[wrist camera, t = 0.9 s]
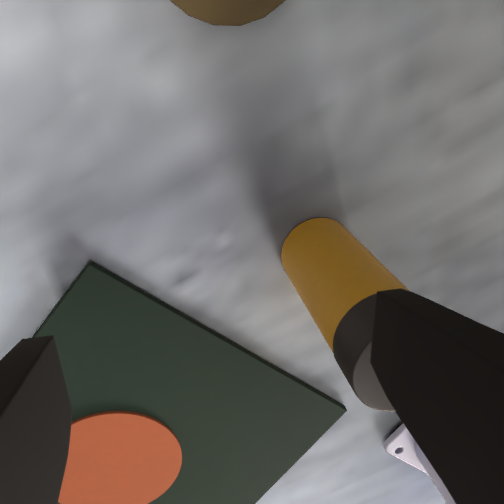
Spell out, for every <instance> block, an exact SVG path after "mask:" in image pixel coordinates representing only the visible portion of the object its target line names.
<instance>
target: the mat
mask: <svg viewBox="0 0 504 504" xmlns="http://www.w3.org/2000/svg"><path fill="white" fill-rule="evenodd" d="M50 335H54V339H55V343H56V347H57V351H58V355H59V359H60V363H61V367H62V371H63V375H64V379H65V383H66V387H67V391H68V395H69V399H70V402H71V406H72V422H71V434H70V443H69V453H68V459H67V463H66V468H65V473H64V477H63V482H62V486H61V491H60V495H59V499H58V504H255V503H256V502H257V501H258V500H259V499H260V498H261V497H262V496H263V495H264V494H265V493H266V492H267V491H268V490H269V489H270V488H271V487H272V486H273V485H274V484H275V483H276V482H277V481H278V480H279V479H280V478H281V477H282V476H283V475H284V474H285V473H286V472H287V471H288V470H289V469H290V468H291V467H292V466H293V465H294V464H295V463H296V462H297V461H298V460H299V459H300V458H301V457H302V456H303V455H304V454H305V453H306V452H307V451H308V450H309V449H310V448H311V446H312V445H313V444H314V443H315V442H316V441H317V440H318V439H319V438H320V437H321V436H322V435H323V434H324V433H325V432H326V431H327V430H328V429H329V428H330V427H331V426H332V425H333V424H334V423H335V422H336V421H337V420H338V419H339V418H340V417H341V416H342V415H343V414H344V413H345V412H346V411H347V410H346V408H345V406H344V405H342V404H340V403H339V402H337V401H335V400H333V399H332V398H330V397H328V396H326V395H325V394H323V393H321V392H319V391H318V390H316V389H314V388H312V387H311V386H309V385H307V384H305V383H304V382H302V381H300V380H298V379H297V378H295V377H293V376H291V375H290V374H288V373H286V372H284V371H283V370H281V369H279V368H277V367H276V366H274V365H272V364H270V363H269V362H267V361H265V360H263V359H262V358H260V357H258V356H256V355H255V354H253V353H251V352H249V351H248V350H246V349H244V348H242V347H241V346H239V345H237V344H235V343H234V342H232V341H230V340H228V339H227V338H225V337H223V336H221V335H220V334H218V333H216V332H214V331H213V330H211V329H209V328H207V327H206V326H204V325H202V324H200V323H199V322H197V321H195V320H193V319H192V318H190V317H188V316H186V315H185V314H183V313H181V312H179V311H178V310H176V309H174V308H172V307H171V306H169V305H167V304H165V303H164V302H162V301H160V300H158V299H157V298H155V297H153V296H151V295H150V294H148V293H146V292H144V291H143V290H141V289H139V288H137V287H136V286H134V285H132V284H130V283H129V282H127V281H125V280H123V279H122V278H120V277H118V276H116V275H115V274H113V273H111V272H109V271H108V270H106V269H104V268H103V267H101V266H99V265H97V264H96V263H94V262H92V261H89V263H88V264H87V265H86V267H85V268H84V269H83V271H82V272H81V273H80V275H79V276H78V277H77V279H76V280H75V281H74V283H73V284H72V285H71V287H70V288H69V289H68V291H67V292H66V293H65V295H64V296H63V297H62V299H61V300H60V301H59V303H58V304H57V305H56V307H55V308H54V309H53V311H52V312H51V313H50V315H49V316H48V317H47V319H46V320H45V321H44V323H43V324H42V325H41V327H40V328H39V329H38V331H37V332H36V333H35V335H34V336H33V337H32V338H36V337H43V336H50Z"/></svg>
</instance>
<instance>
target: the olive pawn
mask: <svg viewBox="0 0 504 504" xmlns="http://www.w3.org/2000/svg"><path fill="white" fill-rule="evenodd" d="M170 1H172V2H173V3H174V4H175V5H177V6H178V7H179V8H180V9H181V10H183V11H184V12H185V13H186V14H188V15H189V16H192V17H194V18H197V19H199V20H202V21H205V22H207V23H210V24H212V25H230V26H241V25H243V24H246V23H249V22H252V21H255V20H258V19H261V18H264V17H265V16H266V15H268V14H269V13H270V12H272V11H273V10H274V9H275V8H277V7H278V6H279V5H280V4H282V3H283V2H284V1H285V0H170Z"/></svg>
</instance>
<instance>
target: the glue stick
mask: <svg viewBox="0 0 504 504" xmlns="http://www.w3.org/2000/svg"><path fill="white" fill-rule="evenodd" d="M281 261H282V265H283V268H284V270H285V272H286V273H287V275H288V277H289V279H290V280H291V282H292V284H293V285H294V287H295V289H296V290H297V292H298V294H299V296H300V297H301V299H302V301H303V302H304V304H305V306H306V307H307V309H308V311H309V313H310V314H311V316H312V318H313V319H314V321H315V323H316V324H317V326H318V328H319V330H320V331H321V333H322V335H323V336H324V338H325V340H326V342H327V343H328V345H329V347H330V348H331V350H332V352H333V353H334V357H335V359H336V361H337V363H338V365H339V367H340V368H341V370H342V372H343V374H344V375H345V377H346V379H347V380H348V382H349V384H350V386H351V387H352V389H353V391H354V392H355V394H356V396H357V397H358V398H359V399H360V400H361V401H362V402H363V403H364V404H366V405H367V406H369V407H371V408H373V409H376V410H381V411H395V410H394V408H393V407H392V405H391V403H390V402H389V400H388V399H387V397H386V395H385V393H384V391H383V389H382V387H381V385H380V383H379V381H378V378H377V376H376V374H375V372H374V370H373V368H372V365H371V363H370V357H371V347H372V337H373V327H374V316H375V306H376V296H377V291H384V290H392V289H399V288H402V289H405V290H408V289H407V288H406V287H405V286H404V285H403V284H402V283H401V282H400V281H399V280H398V279H397V278H396V277H395V276H394V275H393V274H392V273H391V272H390V271H389V270H388V269H387V268H386V267H385V266H384V265H383V264H381V263H380V262H379V261H378V260H377V259H376V258H375V257H374V256H373V255H372V254H371V253H370V252H369V251H368V250H367V249H366V248H365V247H364V246H363V245H362V244H361V243H360V242H359V241H358V240H357V239H356V238H355V237H354V236H353V235H352V234H351V233H350V232H349V231H348V230H347V229H346V228H345V227H344V226H343V225H341V224H340V223H339V222H337V221H335V220H332V219H329V218H314V219H310V220H307V221H305V222H303V223H301V224H300V225H298V226H297V227H296V228H294V229H293V230H292V231H291V232H290V234H289V235H288V236H287V238H286V240H285V242H284V244H283V247H282V252H281ZM408 291H409V290H408Z"/></svg>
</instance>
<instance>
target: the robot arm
mask: <svg viewBox="0 0 504 504" xmlns="http://www.w3.org/2000/svg"><path fill="white" fill-rule="evenodd" d="M370 363H371V365H372V368H373V370H374V372H375V374H376V376H377V378H378V381H379V383H380V385H381V387H382V389H383V391H384V393H385V395H386V397H387V399H388V400H389V402H390V403H391V405H392V407H393V408H394V410H395V411H396V413H397V414H398V416H399V417H400V419H401V420H402V422H403V424H402V425H401V426H400V427H399V428H398V429H397V430H395V431H394V432H393V433H392V434H391V435H390V436H389V437H388V438H387V439H386V440H385V442H384V444H383V446H384V448H385V450H386V452H387V453H389V454H391V455H393V456H395V457H397V458H399V459H400V460H402V461H404V462H406V463H408V464H410V465H411V466H413V467H415V468H417V469H419V470H421V471H423V472H424V473H426V474H428V475H429V476H430V478H431V479H432V481H433V483H434V484H435V486H436V487H437V489H438V490H439V492H440V493H441V495H442V497H443V498H444V500H445V501H446V503H447V504H504V334H503V333H501V332H498V331H496V330H494V329H491V328H489V327H487V326H485V325H483V324H480V323H478V322H476V321H474V320H472V319H469V318H467V317H465V316H463V315H461V314H459V313H457V312H454V311H452V310H450V309H448V308H446V307H444V306H442V305H440V304H437V303H435V302H433V301H431V300H429V299H427V298H424V297H422V296H420V295H417V294H415V293H413V292H410V291H408V290H405V289H402V288H399V289H392V290H384V291H377V296H376V306H375V316H374V327H373V337H372V347H371V357H370ZM71 422H72V406H71V402H70V399H69V395H68V391H67V387H66V383H65V379H64V375H63V371H62V367H61V363H60V359H59V355H58V351H57V347H56V343H55V339H54V335H50V336H43V337H36V338H28V339H22V340H21V341H20V342H19V343H18V344H17V345H16V346H15V347H14V348H13V349H12V350H11V351H10V352H9V353H8V354H7V355H6V356H5V357H4V358H3V359H2V360H1V361H0V504H58V499H59V495H60V491H61V486H62V482H63V477H64V473H65V468H66V463H67V459H68V453H69V443H70V434H71Z"/></svg>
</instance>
